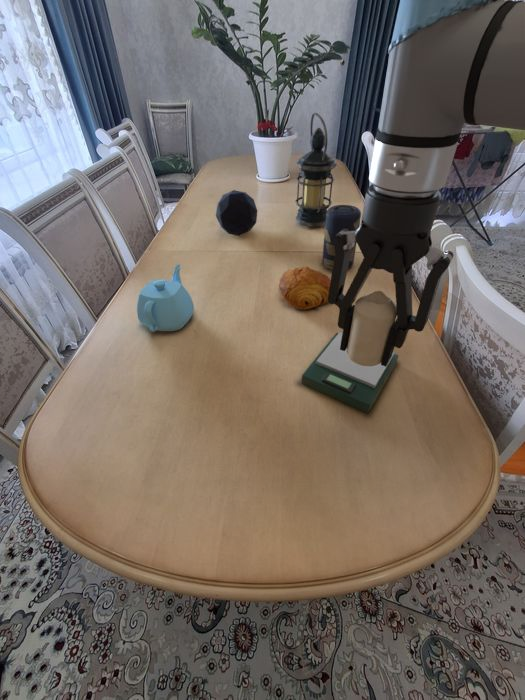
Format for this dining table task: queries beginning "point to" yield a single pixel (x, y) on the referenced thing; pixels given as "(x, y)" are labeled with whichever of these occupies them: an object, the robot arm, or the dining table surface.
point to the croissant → (304, 287)
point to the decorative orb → (236, 212)
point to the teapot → (165, 304)
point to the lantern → (315, 179)
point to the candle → (371, 328)
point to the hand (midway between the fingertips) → (365, 352)
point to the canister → (335, 222)
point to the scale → (347, 376)
